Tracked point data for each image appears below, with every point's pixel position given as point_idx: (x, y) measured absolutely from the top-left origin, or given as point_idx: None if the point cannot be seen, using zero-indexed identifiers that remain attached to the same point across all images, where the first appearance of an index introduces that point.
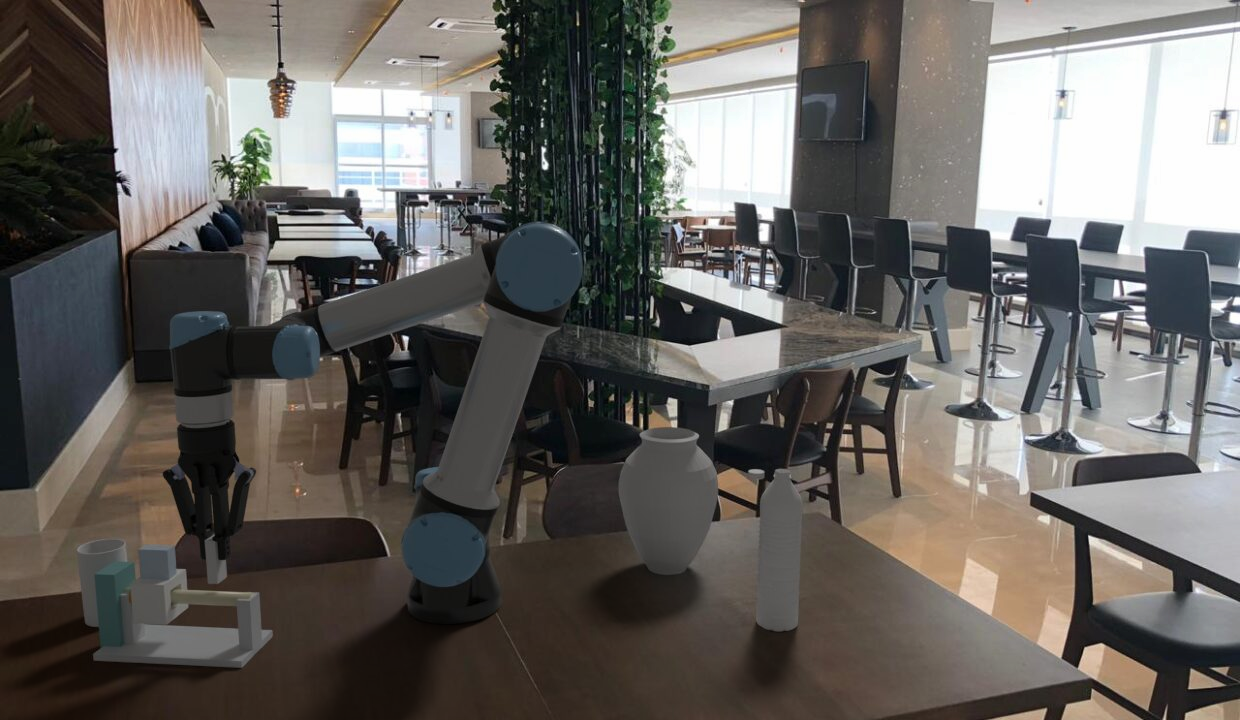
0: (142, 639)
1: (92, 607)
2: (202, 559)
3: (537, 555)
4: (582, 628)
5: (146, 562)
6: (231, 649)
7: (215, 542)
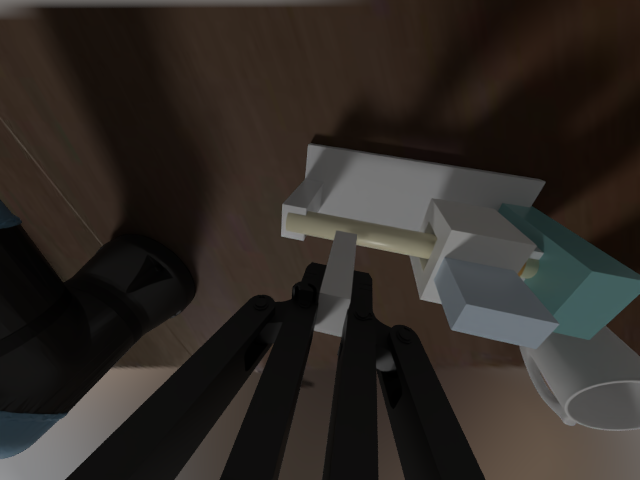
0: None
1: None
2: (367, 273)
3: (139, 348)
4: (21, 214)
5: (515, 292)
6: (333, 182)
7: (320, 290)
